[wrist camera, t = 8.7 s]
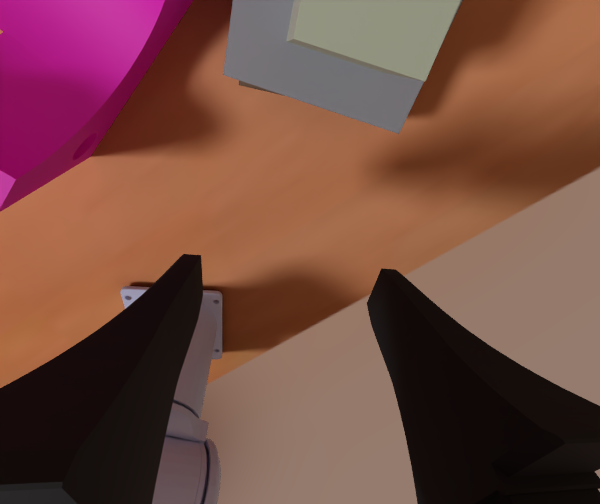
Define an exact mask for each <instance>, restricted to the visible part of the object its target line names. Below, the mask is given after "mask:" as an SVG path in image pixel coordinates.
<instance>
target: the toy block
mask: <svg viewBox="0 0 600 504" xmlns="http://www.w3.org/2000/svg"><path fill="white" fill-rule="evenodd" d="M192 2H193V0H0V29H1V30H2V31H3V33H2V34H1V35H0V211H2V210H4V209H5V208H7V207H9V206H10V205H12V204H14V203H15V202H17V201H19V200H20V199H22V198H23V197H25V196H27V195H28V194H30V193H32V192H33V191H35V190H37V189H38V188H40V187H42V186H43V185H45V184H46V183H48V182H50V181H51V180H53V179H55V178H56V177H58V176H60V175H61V174H63V173H65V172H66V171H68V170H69V169H71V168H73V167H74V166H76V165H78V164H79V163H81V162H83V161H84V160H86V159H88V158H89V157H91V155H92V153H93V152H94V150H95V149H96V147H97V146H98V144H99V143H100V141H101V140H102V138H103V137H104V135H105V134H106V132H107V131H108V129H109V128H110V126H111V125H112V123H113V122H114V120H115V119H116V117H117V116H118V114H119V113H120V111H121V110H122V108H123V107H124V105H125V103H126V102H127V100H128V99H129V97H130V96H131V94H132V93H133V91H134V90H135V88H136V87H137V85H138V84H139V82H140V81H141V79H142V78H143V76H144V75H145V73H146V72H147V70H148V69H149V67H150V66H151V64H152V63H153V61H154V60H155V58H156V57H157V55H158V53H159V52H160V50H161V49H162V47H163V46H164V44H165V43H166V41H167V40H168V38H169V37H170V35H171V34H172V32H173V31H174V29H175V28H176V26H177V25H178V23H179V22H180V20H181V19H182V17H183V16H184V14H185V13H186V11H187V10H188V8H189V7H190V5H191V3H192Z"/></svg>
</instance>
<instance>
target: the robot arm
mask: <svg viewBox="0 0 600 504" xmlns="http://www.w3.org/2000/svg"><path fill="white" fill-rule="evenodd" d="M121 296H122V299H123V303H124V306H125V310H123V311H122V312H121V313H120V314H118V315H117V316H116V317H114V318H113V319H112V320H111V321H109V322H108V323H106V324H105V325H104V326H102V327H101V328H100V329H98V330H97V331H95V332H94V333H93V334H91V335H90V336H88V337H87V338H85V339H84V340H82V341H81V342H79V343H77V344H76V345H74V346H73V347H71V348H70V349H68V350H67V351H65V352H63V353H62V354H60V355H59V356H57V357H55V358H54V359H52V360H50V361H49V362H47V363H45V364H44V365H42V366H40V367H38V368H37V369H35V370H33V371H31V372H30V373H28V374H26V375H24V376H22V377H20V378H19V379H17V380H15V381H13V382H11V383H10V384H8V385H6V386H4V387H2V388H0V504H217V501H218V496H219V489H220V478H221V468H220V460H219V457H218V452H217V448H216V445H215V444H214V442H213V441H212V440H211V439H207V438H206V435H207V429H208V422H207V421H204V420H201V419H200V417H201V412H202V407H203V401H204V396H205V391H206V385H207V380H208V375H209V369H210V364H211V359H220V358H222V293H221V292H219V291H210V290H203V284H202V266H201V255H189V254H183V255H182V256H181V257H180V258H179V259H178V260H177V261H176V262H175V263H174V264H173V265H172V266H171V267H170V268H169V269H168V270H167V271H166V272H165V273H164V274H163V275H162V276H161V277H160V278H159V279H158V280H157V281H156V282H155V283H154V284H153V285H152V286H151V287H136V286H125V287H123V288H122V290H121ZM215 300H218V301H215ZM367 306H368V311H369V316H370V320H371V324H372V328H373V331H374V333H375V336H376V339H377V342H378V344H379V347H380V350H381V352H382V355H383V358H384V361H385V363H386V366H387V369H388V371H389V374H390V377H391V380H392V383H393V386H394V390H395V394H396V398H397V401H398V406H399V410H400V413H401V418H402V422H403V427H404V431H405V435H406V440H407V445H408V450H409V455H410V460H411V465H412V471H413V477H414V483H415V489H416V496H417V502H418V504H600V492H599V490H598V489H599V488H600V478H599V477H598V476H597V474H596V473H595V472H594V471H596V470H598V469H600V406H598V405H596V404H594V403H592V402H590V401H588V400H586V399H584V398H582V397H580V396H578V395H576V394H574V393H572V392H570V391H567V390H565V389H563V388H561V387H560V386H558V385H556V384H554V383H552V382H550V381H548V380H546V379H545V378H543V377H541V376H539V375H537V374H535V373H534V372H532V371H530V370H528V369H527V368H525V367H523V366H521V365H520V364H518V363H516V362H515V361H513V360H511V359H510V358H508V357H507V356H505V355H503V354H502V353H500V352H499V351H497V350H496V349H494V348H492V347H491V346H489V345H488V344H487V343H485V342H484V341H482V340H481V339H479V338H478V337H477V336H475V335H474V334H472V333H471V332H469V331H468V330H467V329H465V328H464V327H463V326H461V325H460V324H459V323H458V322H456V321H455V320H454V319H453V318H451V317H450V316H449V315H448V314H446V313H445V312H444V311H442V309H440V308H439V307H438V306H437V305H436V304H435V303H433V302H432V301H431V300H430V299H429V298H427V297H426V296H425V295H424V294H423V293H422V292H421V291H420V290H419V289H417V288H416V287H415V286H414V285H413V284H412V283H411V282H409V281H408V280H407V279H406V278H405V277H404V276H403V275H401V274H400V273H399V272H398V271H396V270H394V269H381V271H380V274H379V276H378V278H377V281H376V283H375V285H374V288H373V290H372V293H371V295H370V297H369V300H368V302H367Z"/></svg>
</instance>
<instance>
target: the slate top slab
mask: <svg viewBox="0 0 600 504" xmlns="http://www.w3.org/2000/svg"><path fill="white" fill-rule="evenodd" d="M462 1H463V0H461V1H460V4H459V6H458V8H457V10H456V13H455V15H454V17H453V19H452V22H453V20H454V18H455V16H456V14H457V12H458V9H459V7H460V5H461V3H462ZM293 2H294V0H233V3H232V11H231V18H230V26H229V34H228V42H227V50H226V58H225V65H224V73H223V75H225V76H228V77H231V78H234V79H237V80H240V81H243V82H246V83H249V84H252V85H255V86H258V87H261V88H264V89H267V90H270V91H273V92H276V93H279V94H282V95H285V96H288V97H291V98H294V99H297V100H300V101H303V102H306V103H309V104H311V105H314V106H317V107H320V108H323V109H326V110H329V111H332V112H335V113H338V114H341V115H344V116H347V117H350V118H353V119H356V120H359V121H362V122H365V123H368V124H371V125H374V126H377V127H380V128H383V129H386V130H389V131H392V132H395V133H398V134H399V133H400V131H401V129H402V127H403V124H404V122H405V120H406V118H407V116H408V114H409V112H410V110H411V108H412V106H413V104H414V101H415V99H416V97H417V95H418V93H419V91H420V89H421V87H422V85H423V83H424V81H420V80H415V79H410V78H406V77H401V76H396V75H392V74H387V73H383V72H379V71H376V70H373V69H370V68H367V67H364V66H361V65H357V64H354V63H351V62H348V61H345V60H342V59H339V58H336V57H333V56H330V55H326V54H323V53H320V52H317V51H314V50H311V49H308V48H305V47H302V46H299V45H295V44H292V43H289V42H286V40H287V35H288V29H289V24H290V18H291V13H292V8H293ZM452 22H451V24H452ZM451 24H450V26H451ZM450 26H449V28H450ZM448 30H449V29H448ZM447 32H448V31H447ZM446 35H447V33H446ZM446 35H445V37H446ZM444 39H445V38H444ZM443 41H444V40H443ZM442 43H443V42H442Z"/></svg>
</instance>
